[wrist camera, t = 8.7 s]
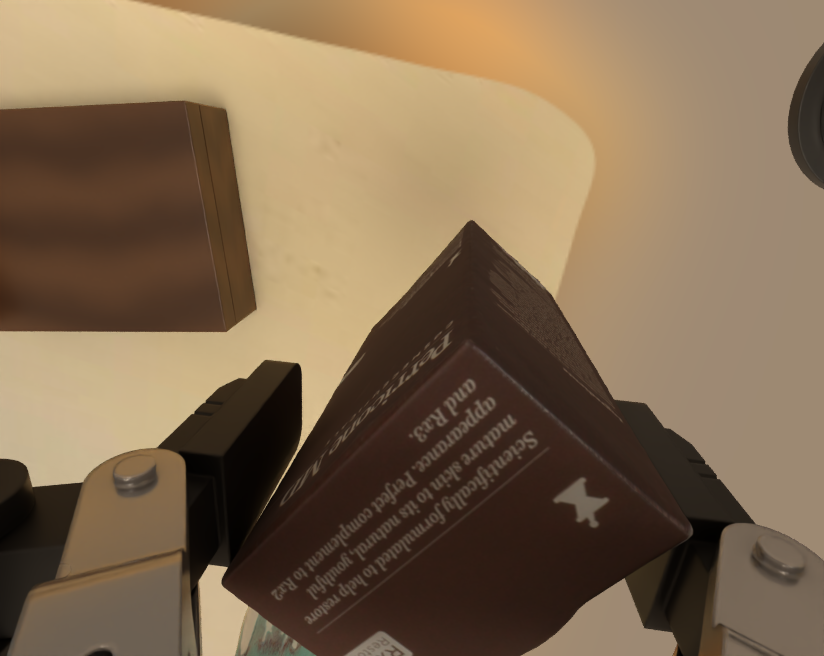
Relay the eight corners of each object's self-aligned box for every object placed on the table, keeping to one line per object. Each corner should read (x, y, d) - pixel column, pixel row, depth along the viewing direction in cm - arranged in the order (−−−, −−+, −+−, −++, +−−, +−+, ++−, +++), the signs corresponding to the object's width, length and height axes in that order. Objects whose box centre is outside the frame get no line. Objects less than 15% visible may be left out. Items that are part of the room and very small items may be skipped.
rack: (-45, 121, 33) (-217, 109, 25) (226, 108, 31) (139, 91, 23) (19, 309, 38) (-107, 353, 29) (256, 309, 36) (194, 356, 27)
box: (464, 210, 16) (474, 328, 5) (553, 294, 17) (730, 554, 6) (359, 327, 18) (201, 597, 7) (443, 398, 19) (420, 742, 8)
